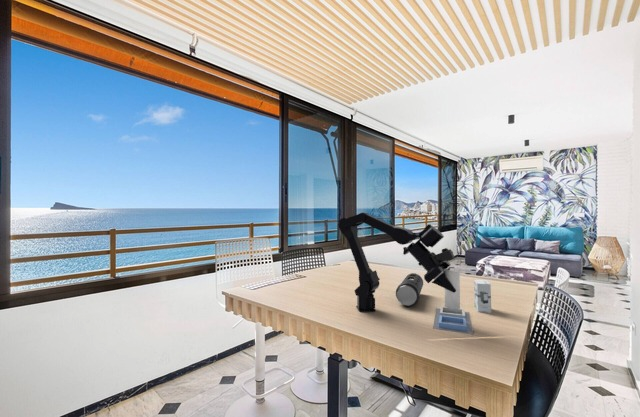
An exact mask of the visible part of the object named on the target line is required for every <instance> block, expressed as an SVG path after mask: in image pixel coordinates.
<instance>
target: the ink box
mask: <svg viewBox="0 0 640 417" xmlns="http://www.w3.org/2000/svg"><path fill="white" fill-rule="evenodd" d="M473 281H474V283H473V285H474V287H473V288H474V291H473V292H474V294H473V295H474V308H475V310H476V312H477V313H486V314H492V288H491V287H492V285H491V283H490V282H489V280H487V279H474V280H473Z"/></svg>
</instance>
